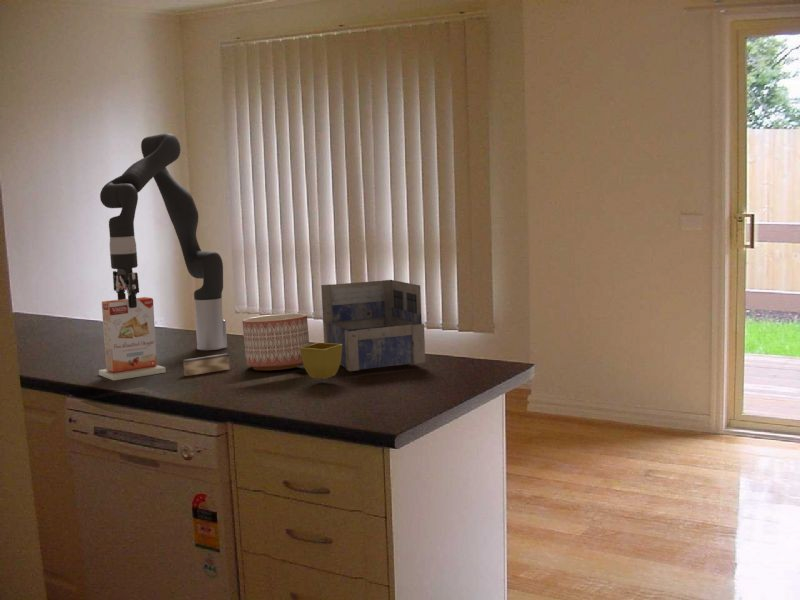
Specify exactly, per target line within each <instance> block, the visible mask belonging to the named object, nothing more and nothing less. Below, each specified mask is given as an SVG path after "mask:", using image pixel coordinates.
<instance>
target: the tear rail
mask: <svg viewBox="0 0 800 600" xmlns="http://www.w3.org/2000/svg"><path fill="white" fill-rule="evenodd" d="M182 362H183V363H182V364H183V375H184V376H185V377H189V376H195V375H200V374H201V375H202V374H208V373H213V372H221V371H226V370H227V371H228V370H230V369H231V366H230V354H229V353H221V354H214V355H213V354H212V355H207V356H201V357H195V358H186V359H182Z"/></svg>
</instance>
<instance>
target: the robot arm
mask: <svg viewBox="0 0 800 600" xmlns="http://www.w3.org/2000/svg"><path fill="white" fill-rule="evenodd" d="M140 148H141V154H142V158H141V159H138V161H136V162H134V163H132V164H131V165H130V166H129V167H128V168H127V169H126V170H125V171H124V172H123V173H122V174H121V175H119V176H117V177H115V178H114V179H112V180H110V181H109V182H107V183H106V184H105V185H104V186H103V187H102V188H101V191H100V194H99V199H100V202H101V204H102V205H103V206H104V207H106V208H107V209H108V208H109V209H121V212H119V213H120V214H119V215H115V216H112V217H111V218H109V219H108V231H109V252H110V253H109V256H110V268H111V269H113V271H112V282H113V291H114V292H116V294H117V300H121V299H128V304H129V308H136V307H137V302H136V298H137V294H138V293H140V288H139V287H140V285H139V284H140V283H139V276H138V275H139V274H138V272H135V271H134V272H133V269H136V268H138V266H139V265H138V253H137V252H138V251H137V242H136V238H135V237H136V235H135V224H134V222H135V216H136V210H137V205H138V202H139V201H138V199H139V194H138V193H140V192H141V191H142V189H144V187H145V186H146V185H147V184H148V183H149V182H150V181H151V180H152V179H153V180H154V181H155V184H156V186H157V188H158V190H159V194H160V195H161V198H162V200H163V203H164V205H165V206H164V207H165V209H166V211H167V214H168V216H169V219H170V221H171V223H172V225H173V229H174V231H175V234H176V237H177V239H178V241H179V244H180V245H179V246H180V249H181V253H182V256H183V259H184V264H185V266H186V269H187V272H188V273H189V275H190V276H191V277H192V278H194V279H202V286H201V287H200V288H198V289H196V290H194V292H193V302H194V314H195V315H194V317H195V330H196V331H195V333H196V345H197V350H199V351H216V350H217V351H218V350H222V349H226V348H228V339H227V325H226V324H227V323H226V322H227V321H226V320H225V319H224V315H223V298H222V297H223V289H224V263H223V259H222V257H221V255H220V254H219V253H218V252H216V251H202V249H201V247H200V245H199V242H198V238H197V230H198V229H197V228H198V226H199V225H198V224H199V211H198V209H197V206H196V203H195V201H194V198H193V196H192V195H191V193H190V191H188V190H187V189H186V188H185V187H184V186H183V185H182V184H181V183H179V181H177V180H176V179H175V178H174V177H173V176H172V174H170V172H169V170H168V168H167V167H168V166H169V165H171V164H173V163H174V162H175V161H177V160H178V159H179V158H180V155H181V151H182V148H181V144H180V141H179V139H178V137H177V136H176V135H174V134H172V133H161V134H156V135H150V136H146V137H144V138H143V139H142V140H141V143H140ZM125 292H126V293H127V296H126V293H125Z"/></svg>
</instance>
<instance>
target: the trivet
mask: <svg viewBox="0 0 800 600" xmlns="http://www.w3.org/2000/svg"><path fill="white" fill-rule="evenodd" d="M166 372H167V370H166V366H161V365H159V364H157V366H153V367H147V368H140V369H134V370H127V371H121V372H111V371H107V370H106V368H104V369H98V375H99V376H101V377H103V378H105V379H109V380H111V381H118V380H119V381H120V380H125V379H132V378H139V377H144V376H152V375H159V374H164V373H166Z"/></svg>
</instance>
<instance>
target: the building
mask: <svg viewBox="0 0 800 600" xmlns="http://www.w3.org/2000/svg"><path fill="white" fill-rule="evenodd" d="M320 286H321V287H320V288H321V303H322V304H321V306H322V307H321V308H322V309H321V311H322V322H323V323H322V326H323V330H322V331H323V343H333V344H342V356H341V363H340V366H342V367H344V368H345V369H346V371H348V372H355V371H360V370H366V369H375V368H385V367H392V366H393V367H395V366H402V365H409V364H410V365H411V364H414V365H415V364H425V363H426V347H425V346H426V344H425V343H426V341H425V339H426V338H425V324H424V323H422V322H423V321H422V319H423V318H422V296H421V295H422V294H421V285H419V284H415V283H410V282H405V281H399V280H394V279H385V280H384V279H383V280H375V281H374V280H373V281H362V282H361V281H360V282H348V283H346V282H345V283H334V284H321V285H320Z"/></svg>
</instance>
